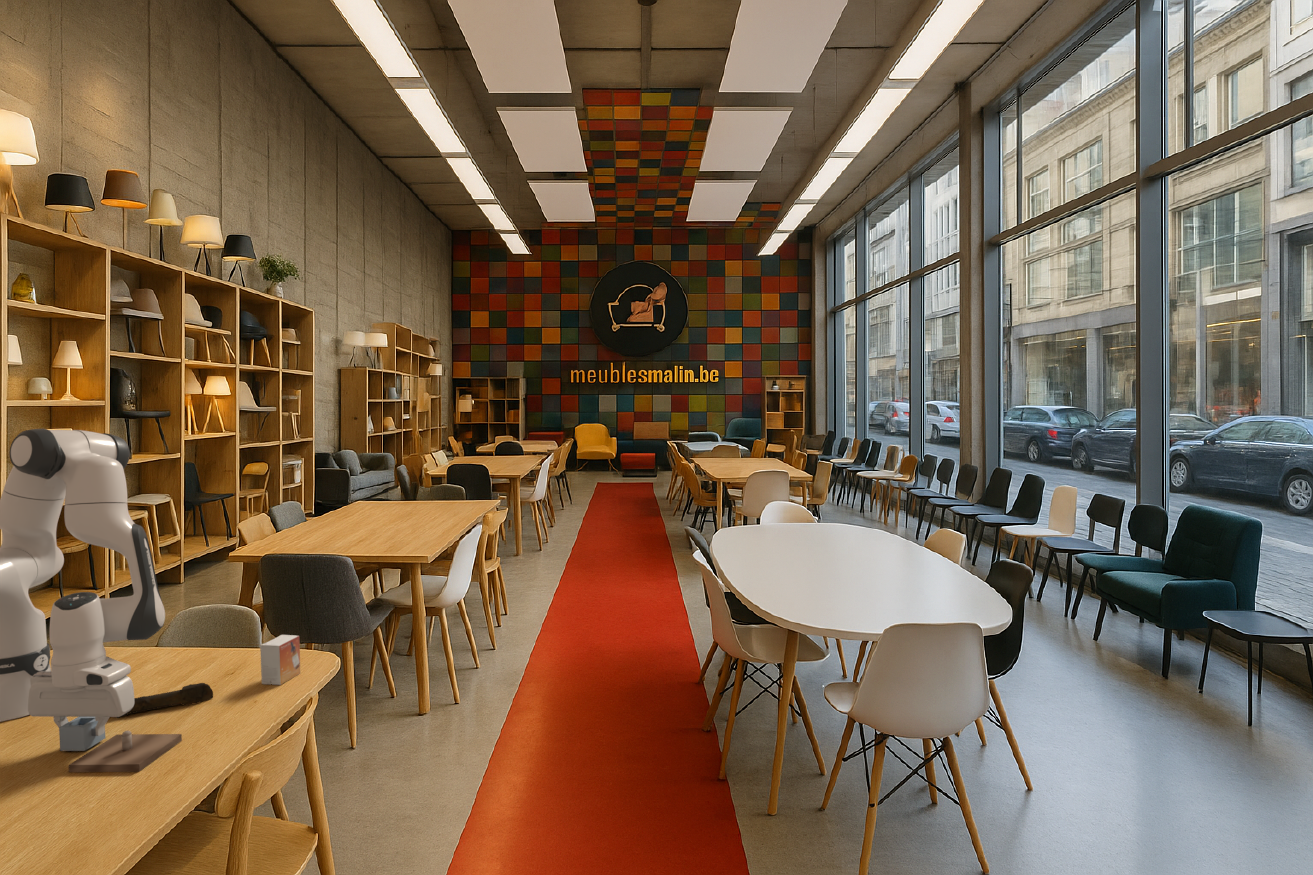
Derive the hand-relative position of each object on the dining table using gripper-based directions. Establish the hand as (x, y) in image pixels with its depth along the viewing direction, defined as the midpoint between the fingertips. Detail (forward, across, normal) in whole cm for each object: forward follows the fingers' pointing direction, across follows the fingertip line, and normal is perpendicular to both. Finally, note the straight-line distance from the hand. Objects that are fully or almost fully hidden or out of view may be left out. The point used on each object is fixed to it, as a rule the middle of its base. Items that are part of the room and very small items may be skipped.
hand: (82, 734), depth 143 cm
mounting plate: (+3, +12, -4) cm, 13 cm away
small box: (+3, +23, +34) cm, 42 cm away
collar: (+2, 0, 0) cm, 2 cm away
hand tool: (+3, +4, +19) cm, 19 cm away
